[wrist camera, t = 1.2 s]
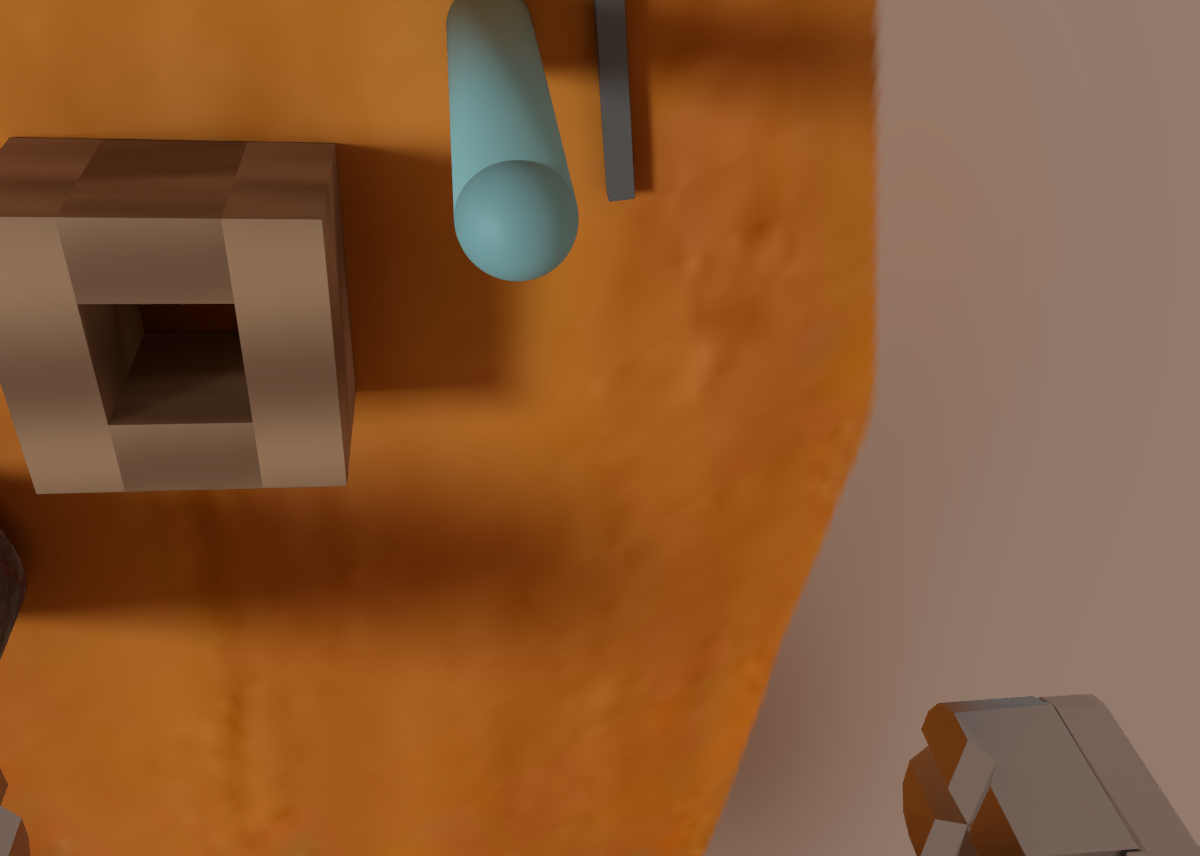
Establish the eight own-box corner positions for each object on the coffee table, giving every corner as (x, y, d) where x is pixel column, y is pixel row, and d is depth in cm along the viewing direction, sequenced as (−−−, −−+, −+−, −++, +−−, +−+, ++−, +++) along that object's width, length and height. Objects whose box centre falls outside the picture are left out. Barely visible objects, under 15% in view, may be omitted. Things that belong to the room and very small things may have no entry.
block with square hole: (9, 137, 30) (-54, 216, 26) (335, 143, 32) (321, 219, 28) (79, 396, 36) (36, 494, 32) (355, 392, 37) (346, 485, 33)
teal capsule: (445, -19, 29) (454, 186, 19) (533, -16, 30) (589, 188, 19) (446, 68, 31) (455, 304, 20) (530, 71, 31) (581, 304, 21)
